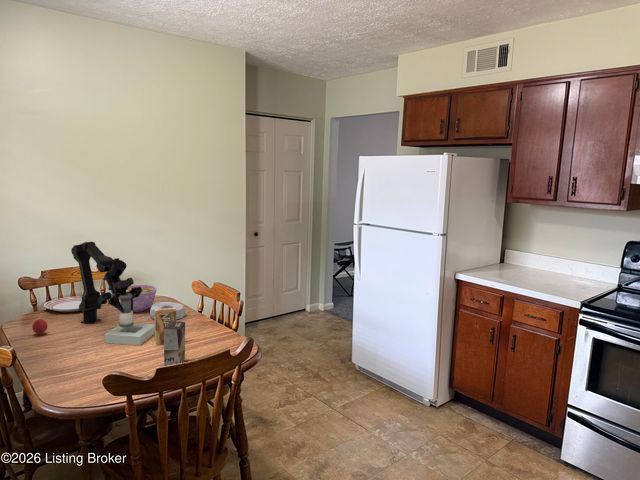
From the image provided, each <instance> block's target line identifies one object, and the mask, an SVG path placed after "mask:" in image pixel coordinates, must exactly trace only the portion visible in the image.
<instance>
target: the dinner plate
mask: <svg viewBox="0 0 640 480" xmlns="http://www.w3.org/2000/svg"><path fill="white" fill-rule="evenodd" d="M81 301H82V295H81V296H78V295H77V296H68V297H62V298H61V297H60V298H56V299H52V300H49V301H47V302H45V303H43V304H44V305H43V306H44V308H45V309H47V310H50V311H55V312H60V313H74V312H81V311H80V310H79V305H80V303H81Z"/></svg>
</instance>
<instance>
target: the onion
mask: <svg viewBox="0 0 640 480" xmlns="http://www.w3.org/2000/svg"><path fill="white" fill-rule="evenodd" d="M31 327H32V328H31V329H32V331H33V332H34V334H37V335H39V336H40V335H43V334H44V333H45V332H46V331H47V330H48V323H47V322H46V321H45V320H43V319H42V317H39V318H37V320H35V321H34V322H33V324H32V326H31Z"/></svg>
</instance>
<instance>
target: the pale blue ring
mask: <svg viewBox="0 0 640 480" xmlns="http://www.w3.org/2000/svg"><path fill="white" fill-rule="evenodd" d="M174 307H175V309H176V320H179V319H182V318H184V317H185V314H186V311H185V306H184V305H183V304H181V303H177V302H171V301H163V302H161V301H160V302H155V303H153V304H152V305H151V306H150V312H149V314H150V317H151V318H152V319H153V320H155V309H163V308H174Z"/></svg>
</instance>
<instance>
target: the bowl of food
mask: <svg viewBox="0 0 640 480" xmlns="http://www.w3.org/2000/svg"><path fill="white" fill-rule="evenodd" d="M134 287H141V288H142V290H143V291H142V292H141V294H140V295H139V297H137V298H133V310H131V311H133V313H137V312H144V311H145V310H147V309H149V308H151V307H152V305H153V304H154V301H155V298H156V295H157V294H156V293H157V289H158V288H157V287H156V286H154V285H150V284H149V285H148V284H136V285H134V284H132V285H131V286H129V287H128V290H126V292H128V291H130V290H131V289H132V288H134ZM119 301H120V303H121V299H120V297H119Z"/></svg>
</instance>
